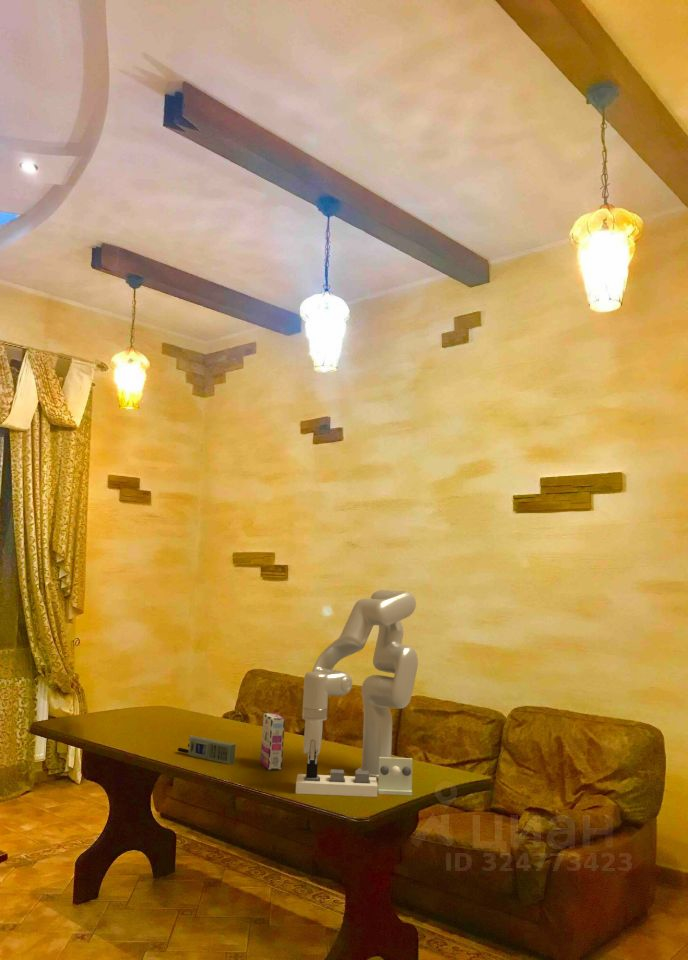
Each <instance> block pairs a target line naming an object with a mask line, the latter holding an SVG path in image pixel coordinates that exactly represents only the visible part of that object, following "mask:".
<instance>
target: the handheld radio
mask: <svg viewBox="0 0 688 960" xmlns="http://www.w3.org/2000/svg"><path fill="white" fill-rule="evenodd" d="M188 737H189V738H188V741H189V743H188V744H187V747H188V749H187V748H182V747H178V748H177V752H179V753H184V754H185V753H186V754H188V756H189V757H194V758H197V759H198V758H199V759H203V760H207V761H210V762H215V763H216V762H217V763H221V764H226V765H234V764H235V757H236V756H235V755H236V746H237V745H236V743H232V742H226V741H222V740H216V739H211V738H206V737H201V736H196V735H188Z"/></svg>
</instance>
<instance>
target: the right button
mask: <svg viewBox="0 0 688 960" xmlns="http://www.w3.org/2000/svg"><path fill="white" fill-rule="evenodd" d="M354 776H355V783H369V771H358V770H357V769H356V770H355V773H354Z"/></svg>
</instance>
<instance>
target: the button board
mask: <svg viewBox="0 0 688 960" xmlns="http://www.w3.org/2000/svg"><path fill="white" fill-rule="evenodd" d="M330 775H331V774H330ZM330 775H329V774H326V775H325V774H317V776H319V781H305V777H306V774H303V773H298V774H297V777H296V782H295V794H300V795H325V796H347V797H367V798H372V797H373V798H378V781H377V780H378V779H376V777H369V783H355V775H354V776H350V775H344V782H330Z"/></svg>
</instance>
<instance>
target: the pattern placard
mask: <svg viewBox="0 0 688 960" xmlns="http://www.w3.org/2000/svg"><path fill="white" fill-rule="evenodd" d="M377 780H378V781H377V785H378V792H377V795H393V796H394V795H395V796H397V795H398V796H413V789H412V788H413V758H412V757H410V758H407V757H392V756H391V757H379V778H378V779H377Z"/></svg>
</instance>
